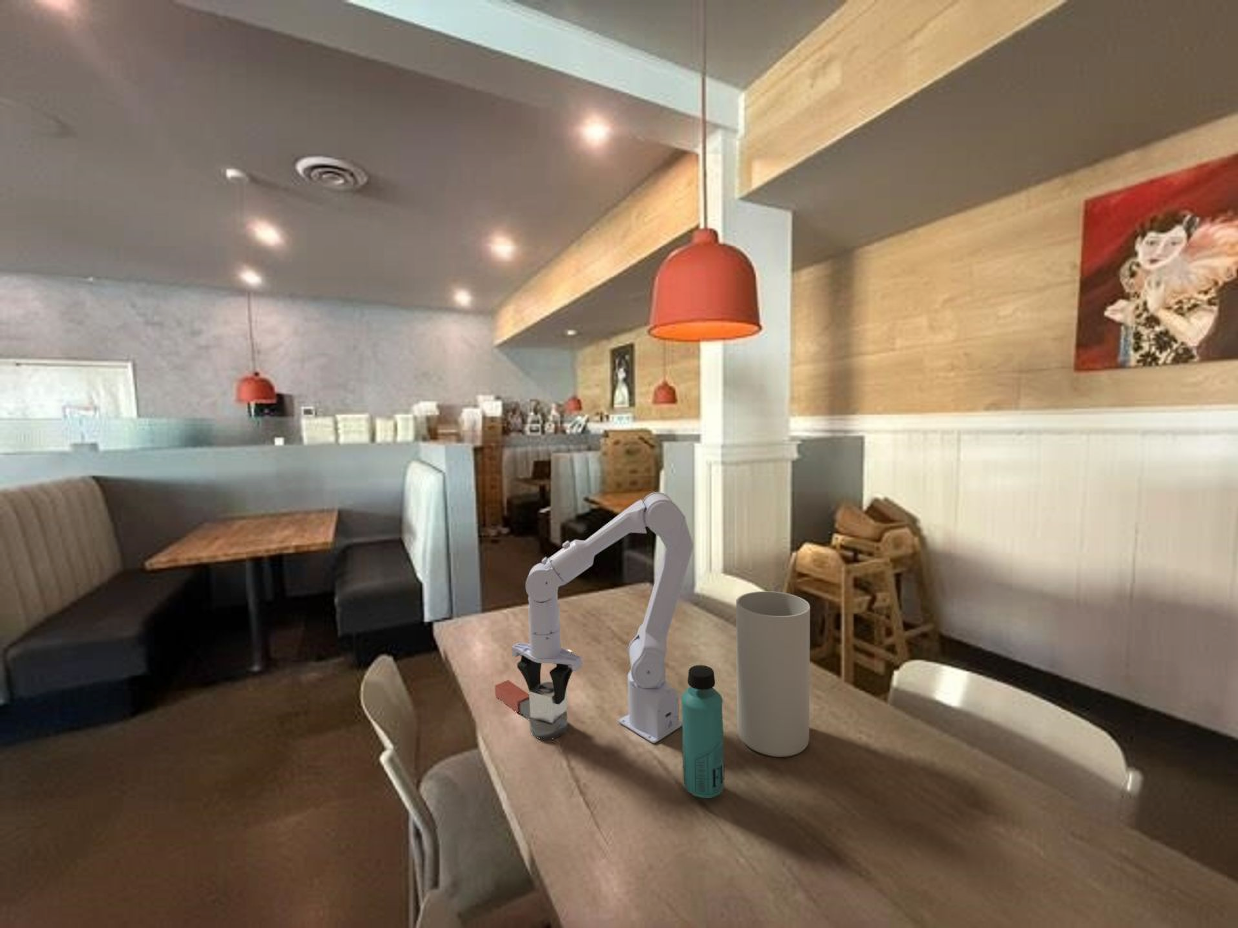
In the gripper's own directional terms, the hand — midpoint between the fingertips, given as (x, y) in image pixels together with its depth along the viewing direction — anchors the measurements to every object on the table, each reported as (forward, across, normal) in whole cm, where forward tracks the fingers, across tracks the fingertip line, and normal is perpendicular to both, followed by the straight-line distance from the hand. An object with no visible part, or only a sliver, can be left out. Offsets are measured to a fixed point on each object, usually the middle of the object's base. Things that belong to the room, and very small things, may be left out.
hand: (547, 698), depth 98 cm
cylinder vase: (+6, -39, -15) cm, 42 cm away
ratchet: (+6, +7, -2) cm, 9 cm away
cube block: (+3, 0, 0) cm, 3 cm away
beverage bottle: (+6, -32, +4) cm, 33 cm away
